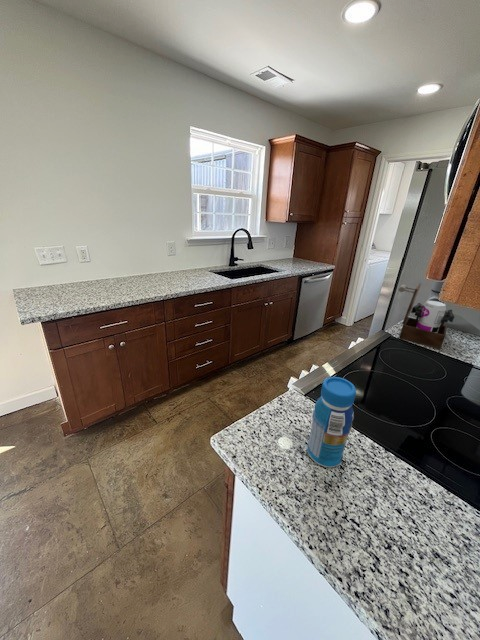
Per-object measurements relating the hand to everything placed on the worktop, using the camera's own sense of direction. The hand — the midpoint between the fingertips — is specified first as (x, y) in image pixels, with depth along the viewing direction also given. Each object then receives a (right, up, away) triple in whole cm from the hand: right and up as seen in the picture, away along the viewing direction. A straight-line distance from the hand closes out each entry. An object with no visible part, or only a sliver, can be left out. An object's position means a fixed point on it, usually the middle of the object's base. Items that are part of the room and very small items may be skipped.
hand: (430, 319), depth 112 cm
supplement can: (+3, -7, +7) cm, 10 cm away
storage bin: (+2, -9, +9) cm, 13 cm away
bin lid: (-3, +7, +6) cm, 10 cm away
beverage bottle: (-60, -32, -48) cm, 84 cm away
